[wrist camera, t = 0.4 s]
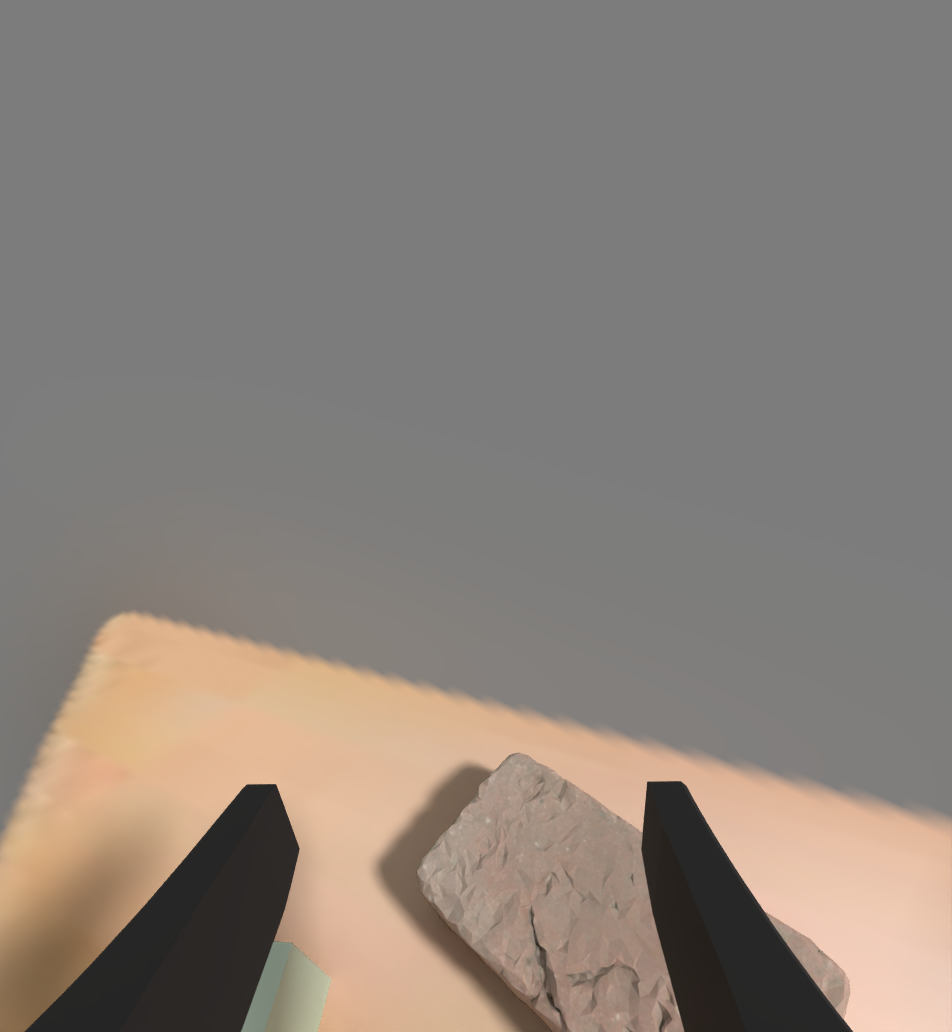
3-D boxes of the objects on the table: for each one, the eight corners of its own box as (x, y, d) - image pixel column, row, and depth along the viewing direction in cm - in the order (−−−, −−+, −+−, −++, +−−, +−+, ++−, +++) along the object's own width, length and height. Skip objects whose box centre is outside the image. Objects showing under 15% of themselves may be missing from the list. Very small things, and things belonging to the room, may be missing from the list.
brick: (423, 907, 28) (398, 868, 25) (520, 777, 32) (508, 732, 29) (768, 1272, 17) (789, 1273, 15) (838, 1006, 22) (864, 969, 19)
